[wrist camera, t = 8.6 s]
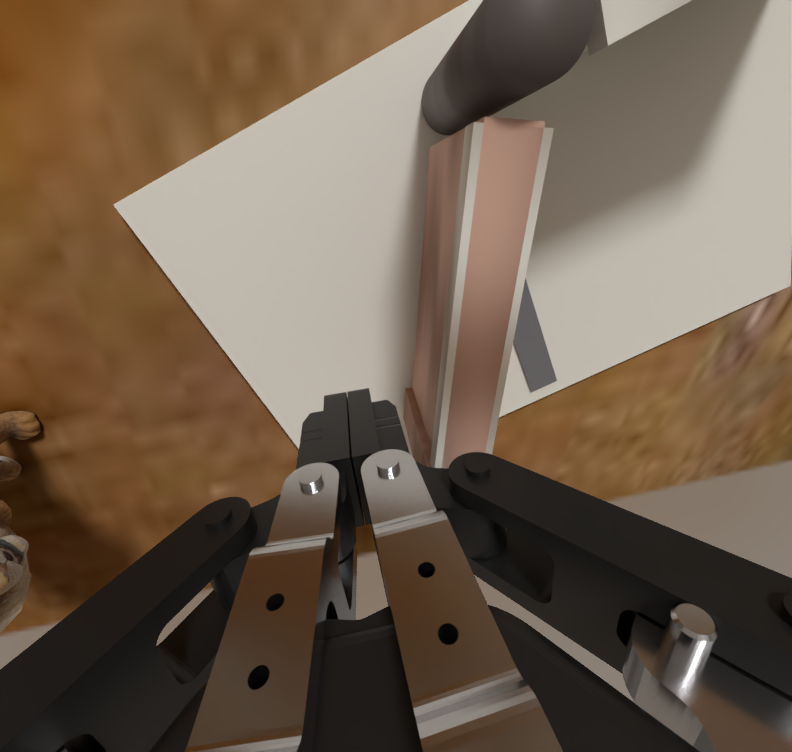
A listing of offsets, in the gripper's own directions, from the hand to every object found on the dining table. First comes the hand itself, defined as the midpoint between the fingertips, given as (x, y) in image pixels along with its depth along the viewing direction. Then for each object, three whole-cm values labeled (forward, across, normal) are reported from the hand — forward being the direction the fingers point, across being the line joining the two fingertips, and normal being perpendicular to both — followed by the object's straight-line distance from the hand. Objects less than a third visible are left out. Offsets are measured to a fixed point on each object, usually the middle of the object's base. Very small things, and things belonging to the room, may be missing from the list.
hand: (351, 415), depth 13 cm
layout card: (+4, -6, -4) cm, 8 cm away
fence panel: (+3, -4, -3) cm, 5 cm away
